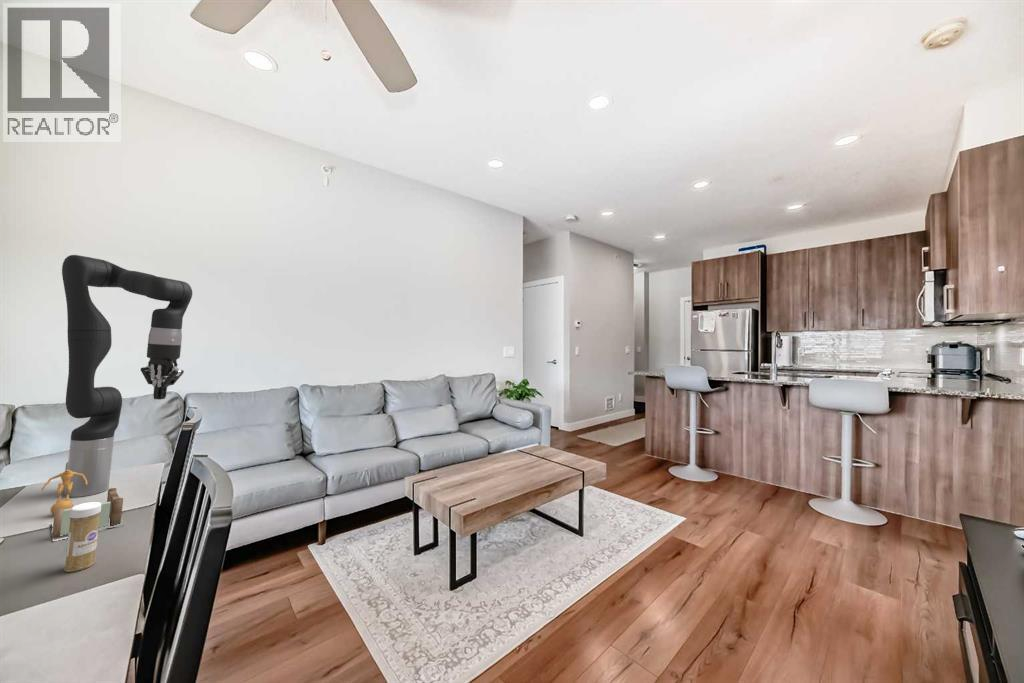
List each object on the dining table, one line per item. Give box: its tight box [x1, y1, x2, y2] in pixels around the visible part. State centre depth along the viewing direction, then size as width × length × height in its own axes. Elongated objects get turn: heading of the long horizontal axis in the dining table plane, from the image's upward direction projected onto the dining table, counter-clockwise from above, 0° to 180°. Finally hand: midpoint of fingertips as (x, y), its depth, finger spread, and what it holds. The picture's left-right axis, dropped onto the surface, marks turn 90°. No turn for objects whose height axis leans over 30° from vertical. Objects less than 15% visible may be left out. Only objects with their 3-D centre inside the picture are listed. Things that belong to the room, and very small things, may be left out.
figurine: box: [41, 470, 88, 515], centre depth 103 cm, size 8×6×12 cm
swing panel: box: [51, 501, 111, 537], centre depth 94 cm, size 9×2×6 cm, turn 138°
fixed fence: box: [106, 487, 124, 526], centre depth 102 cm, size 12×2×7 cm, turn 53°
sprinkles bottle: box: [63, 501, 102, 573], centre depth 81 cm, size 5×5×14 cm
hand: (159, 398), depth 113 cm, fingers closed
